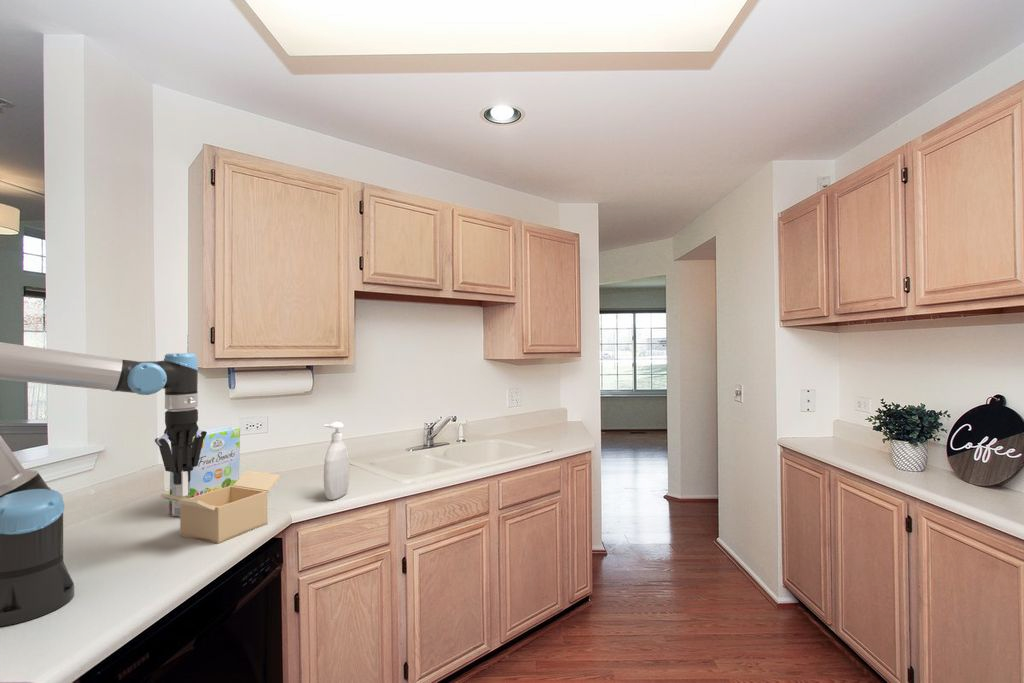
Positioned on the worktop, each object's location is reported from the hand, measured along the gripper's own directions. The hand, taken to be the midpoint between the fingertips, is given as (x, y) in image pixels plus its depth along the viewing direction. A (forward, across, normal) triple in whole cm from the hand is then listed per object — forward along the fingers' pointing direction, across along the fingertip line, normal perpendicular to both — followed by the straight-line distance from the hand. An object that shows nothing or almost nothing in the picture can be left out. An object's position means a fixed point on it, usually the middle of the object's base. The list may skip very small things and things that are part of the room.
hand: (182, 495), depth 134 cm
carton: (+14, +13, 0) cm, 19 cm away
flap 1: (+2, +2, 0) cm, 3 cm away
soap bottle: (+14, +50, -8) cm, 52 cm away
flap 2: (+2, +24, 0) cm, 24 cm away
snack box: (+14, +25, +25) cm, 38 cm away
